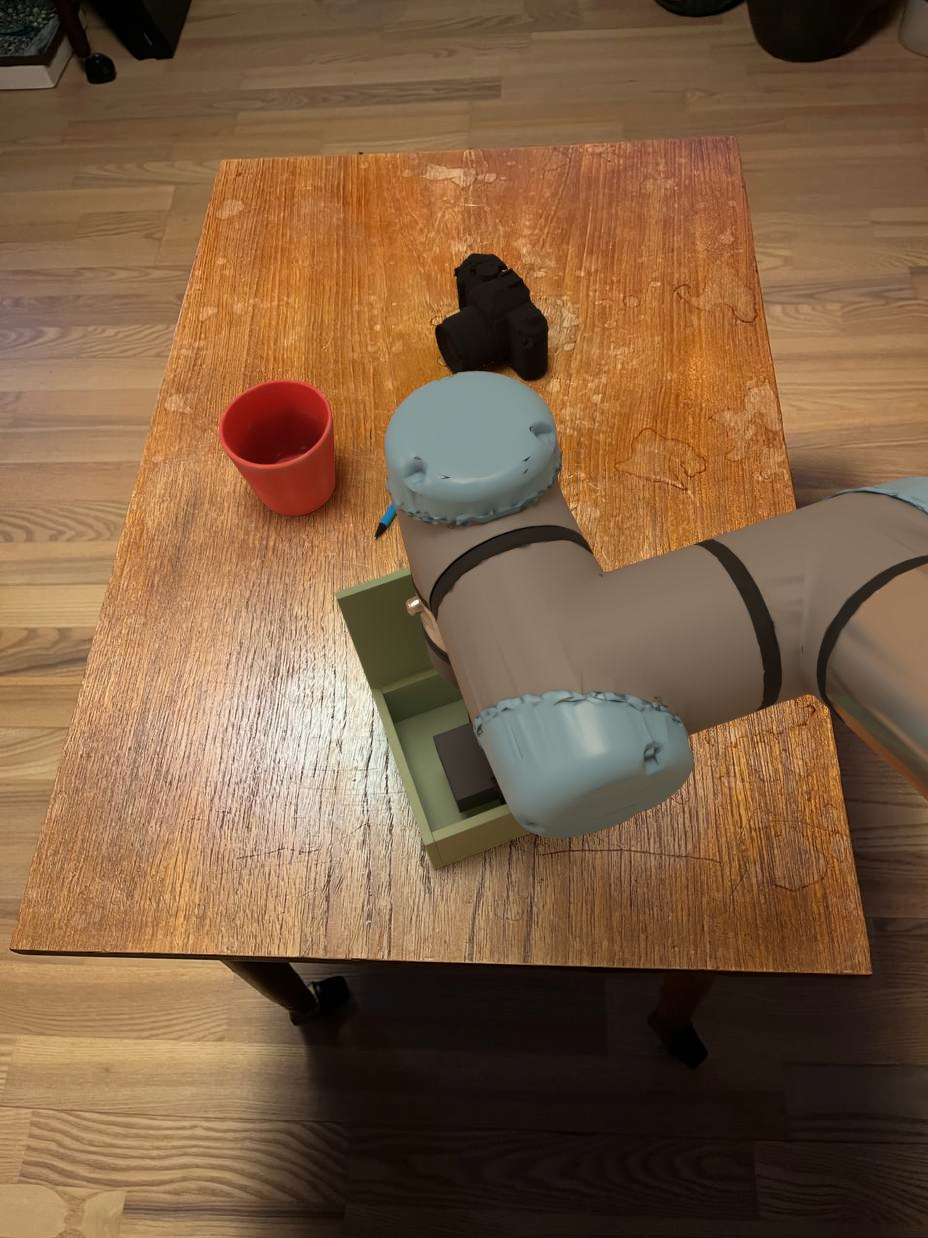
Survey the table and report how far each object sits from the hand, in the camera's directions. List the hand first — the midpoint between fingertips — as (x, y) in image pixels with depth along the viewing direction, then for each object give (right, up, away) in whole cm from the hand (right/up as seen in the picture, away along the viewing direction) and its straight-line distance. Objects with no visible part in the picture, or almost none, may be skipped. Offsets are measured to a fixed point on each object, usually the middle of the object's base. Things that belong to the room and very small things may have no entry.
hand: (501, 760), depth 71 cm
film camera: (-1, +40, +29) cm, 50 cm away
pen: (-7, +26, +22) cm, 35 cm away
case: (0, -1, +5) cm, 5 cm away
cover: (-4, +11, -4) cm, 13 cm away
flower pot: (-20, +24, +22) cm, 38 cm away
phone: (0, 0, 0) cm, 0 cm away
